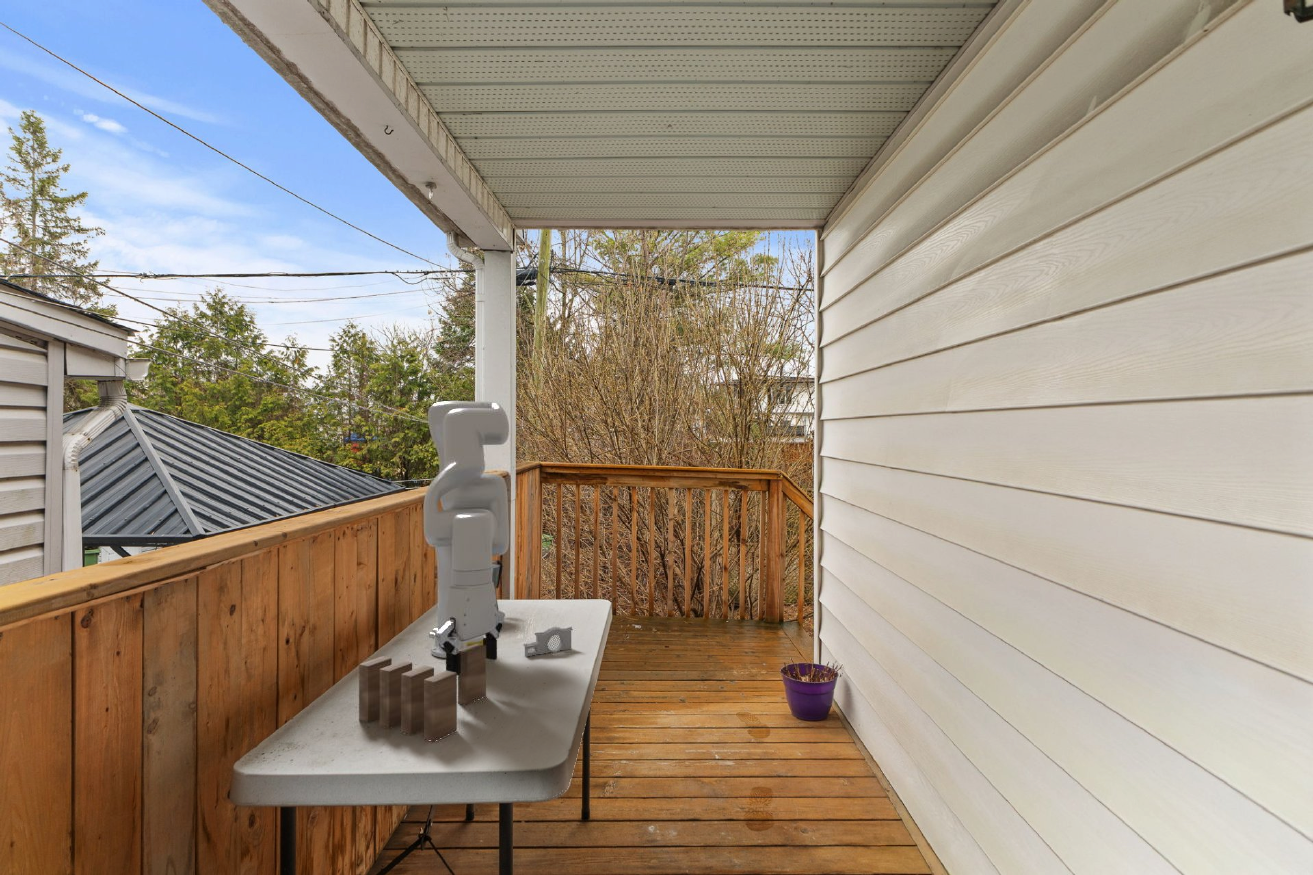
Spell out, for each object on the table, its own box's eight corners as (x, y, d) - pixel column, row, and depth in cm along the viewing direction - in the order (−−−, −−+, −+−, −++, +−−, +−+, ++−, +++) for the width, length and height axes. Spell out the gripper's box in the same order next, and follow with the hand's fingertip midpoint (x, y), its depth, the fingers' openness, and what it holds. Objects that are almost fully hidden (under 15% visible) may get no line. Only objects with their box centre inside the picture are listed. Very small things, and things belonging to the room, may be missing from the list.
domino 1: (358, 720, 116) (359, 664, 116) (382, 710, 121) (382, 656, 121) (367, 722, 115) (368, 666, 115) (391, 712, 120) (391, 658, 120)
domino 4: (423, 739, 108) (424, 679, 109) (446, 728, 113) (446, 670, 113) (434, 742, 107) (434, 682, 107) (456, 731, 112) (456, 672, 112)
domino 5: (458, 703, 124) (458, 650, 124) (476, 694, 128) (477, 643, 128) (467, 705, 123) (467, 652, 123) (486, 696, 127) (486, 645, 127)
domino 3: (401, 732, 111) (401, 674, 111) (424, 722, 115) (424, 665, 116) (410, 735, 110) (411, 676, 110) (434, 724, 114) (434, 667, 114)
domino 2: (379, 726, 114) (379, 669, 114) (403, 716, 118) (403, 660, 118) (388, 729, 113) (388, 671, 113) (412, 718, 117) (412, 662, 117)
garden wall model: (525, 658, 150) (525, 632, 150) (523, 656, 152) (523, 630, 152) (573, 649, 157) (573, 624, 157) (569, 647, 158) (569, 623, 158)
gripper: (489, 568, 135) (489, 651, 135) (423, 583, 120) (423, 677, 120) (516, 571, 132) (517, 656, 131) (452, 587, 116) (452, 683, 116)
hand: (472, 666), depth 125 cm, fingers open, 9 cm apart
